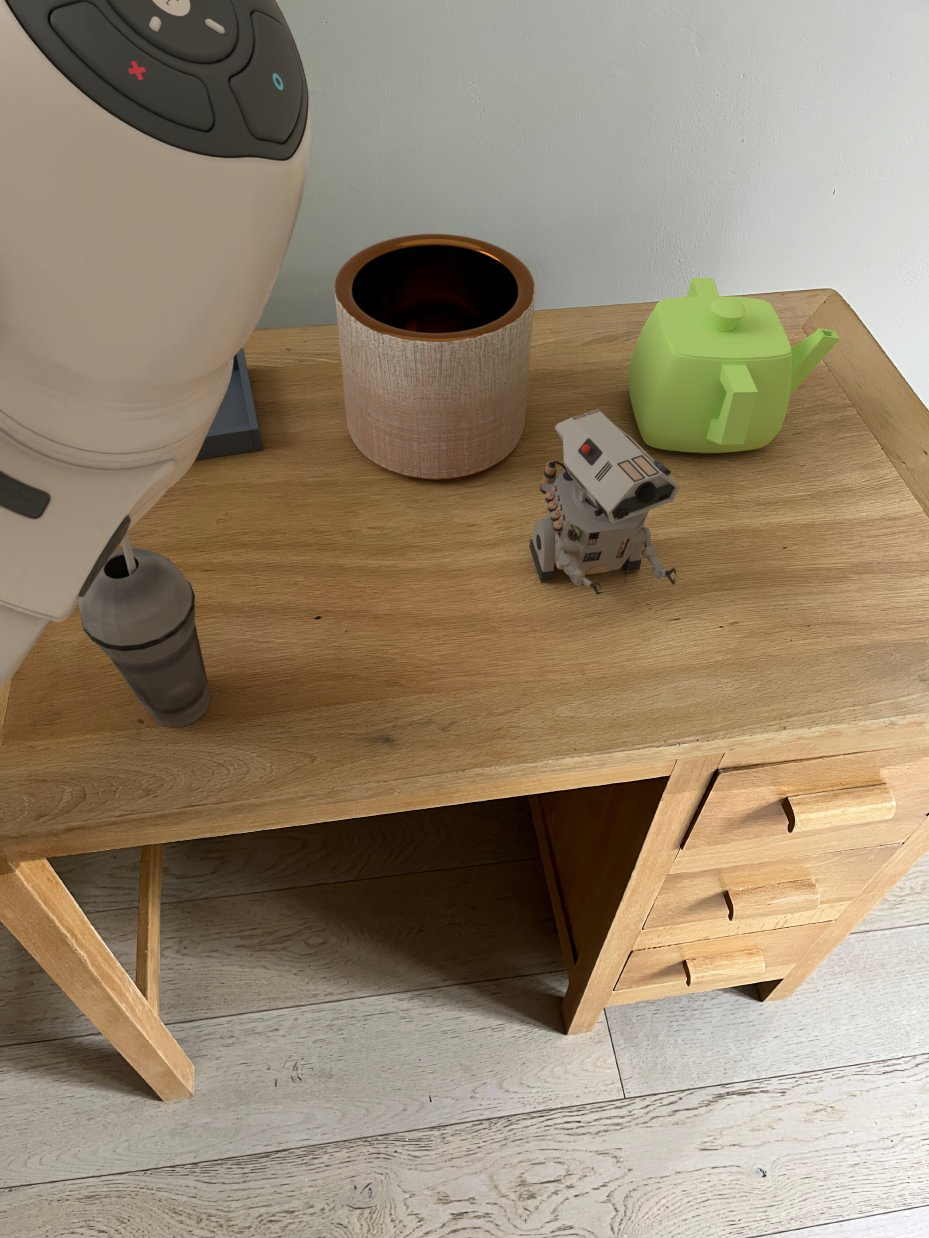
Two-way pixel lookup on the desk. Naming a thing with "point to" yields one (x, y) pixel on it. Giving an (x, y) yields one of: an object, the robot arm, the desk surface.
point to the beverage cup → (149, 632)
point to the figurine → (599, 503)
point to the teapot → (717, 372)
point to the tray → (234, 417)
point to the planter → (435, 353)
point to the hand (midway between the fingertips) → (63, 524)
